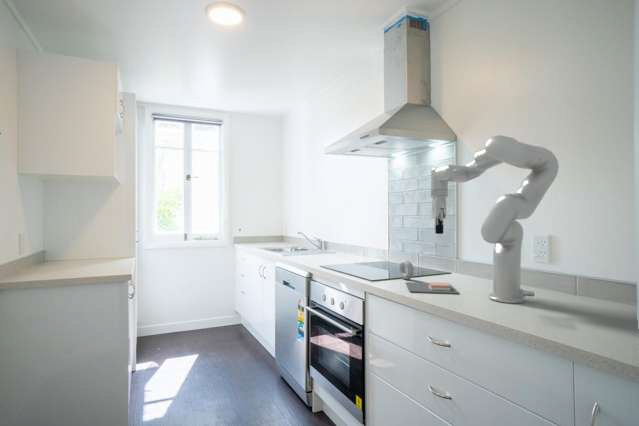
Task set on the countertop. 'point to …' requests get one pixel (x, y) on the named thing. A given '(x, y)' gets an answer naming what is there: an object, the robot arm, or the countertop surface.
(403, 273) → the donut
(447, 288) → the tile
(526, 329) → the countertop surface
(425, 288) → the mat
